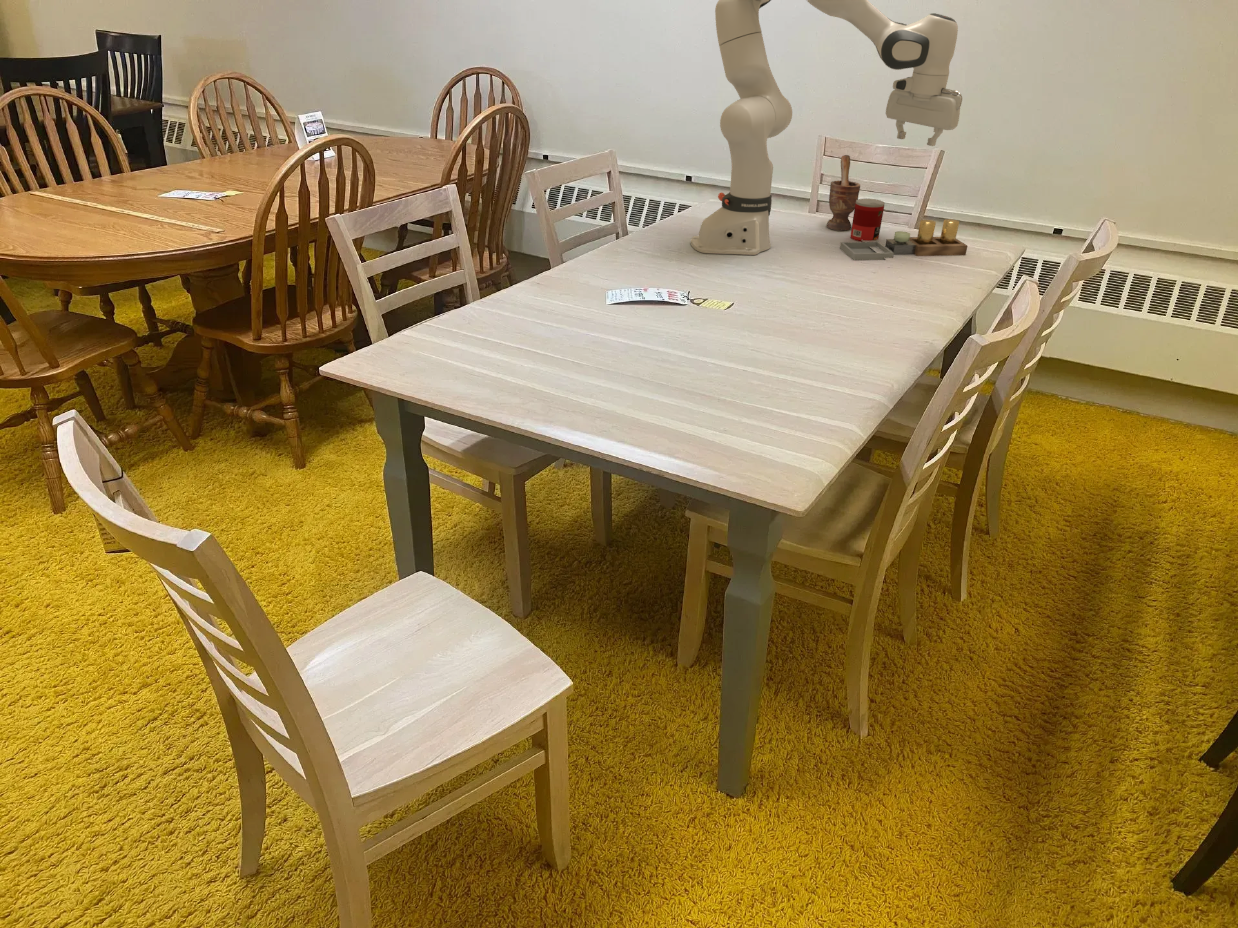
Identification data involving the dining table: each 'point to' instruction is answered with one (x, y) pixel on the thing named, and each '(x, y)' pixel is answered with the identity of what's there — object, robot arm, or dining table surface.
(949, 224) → the billet seated
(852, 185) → the mortar and pestle
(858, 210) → the canned food
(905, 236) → the button
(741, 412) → the dining table surface
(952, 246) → the wooden compartment tray
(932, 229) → the billet
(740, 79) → the robot arm
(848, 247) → the grey square tray
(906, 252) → the button housing
